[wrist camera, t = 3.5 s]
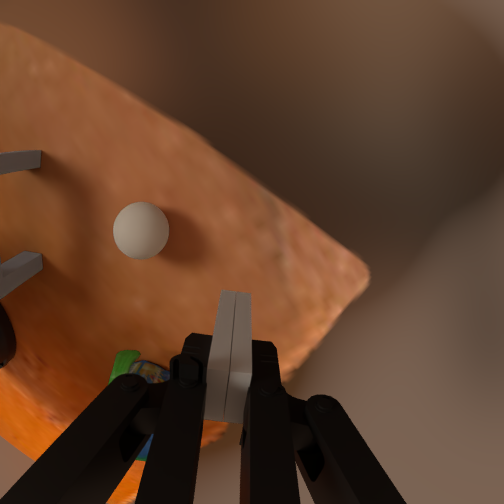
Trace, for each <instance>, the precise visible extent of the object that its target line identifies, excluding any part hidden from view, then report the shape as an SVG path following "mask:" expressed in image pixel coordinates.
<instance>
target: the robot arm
mask: <svg viewBox="0 0 504 504" xmlns="http://www.w3.org/2000/svg"><path fill="white" fill-rule="evenodd" d="M235 297H236V300H235ZM15 351H16V341H15V335H14V331H13V328H12V326H11V323H10V321H9V318H8V316H7V314H6V312H5V311H4V309H3V307H2V306H1V304H0V368H3V367H4V366H5V365H7V363H8V362H9V361H10V360H11V359H12V358H13V357H14V354H15ZM224 406H225V407H224ZM223 414H224V419H223ZM204 419H205V420H213V421H221V422H230V423H240V424H243V430H242V434H241V439H240V445H241V472H240V473H241V474H240V504H300V497H299V488H298V479H297V471H296V464H297V466H298V468H299V470H300V472H301V475H302V477H303V479H304V481H305V483H306V486H307V488H308V490H309V492H310V494H311V497H312V499H313V501H314V503H315V504H406V502H405V501H404V499H403V498H402V496H401V495H400V493H399V492H398V490H397V489H396V487H395V486H394V484H393V483H392V481H391V480H390V479H389V477H388V475H387V474H386V472H385V471H384V469H383V468H382V466H381V465H380V463H379V462H378V460H377V459H376V457H375V456H374V454H373V453H372V451H371V450H370V448H369V447H368V446H367V444H366V442H365V441H364V439H363V438H362V436H361V435H360V433H359V432H358V430H357V429H356V427H355V426H354V424H353V423H352V421H351V419H350V418H349V417H348V415H347V413H346V412H345V410H344V409H343V407H342V406H341V405H340V403H339V402H338V401H337V400H336V399H334V398H332V397H331V396H327V395H314V396H311V397H310V398H309V399H308V400H307V401H305V400H301V399H297V398H295V397H292V396H291V395H289V394H288V393H286V391H285V388H284V387H283V386H282V385H281V378H280V370H279V363H278V355H277V348H276V347H275V346H274V344H273V343H272V342H270V341H260V340H252V333H251V293H243V292H235V291H228V290H221V295H220V301H219V306H218V311H217V317H216V322H215V327H214V333H213V336H212V335H204V334H197V333H191V334H190V335H189V336H188V337H187V338H186V339H185V342H184V345H183V348H182V352H181V354H179V355H176V356H174V357H173V358H172V359H171V360H170V379H169V380H167V381H164V382H160V383H147V381H146V380H145V378H144V377H142V376H140V375H138V374H133V373H125V374H121V375H119V376H117V377H116V378H114V379H113V380H112V382H111V383H110V384H109V385H108V386H107V387H106V388H105V389H104V390H103V391H102V392H101V393H100V394H99V395H98V396H97V397H96V398H95V399H94V400H93V401H92V402H91V403H90V405H89V406H88V407H87V408H86V409H85V410H84V411H83V412H82V413H81V414H80V415H79V416H78V417H77V418H76V419H75V420H74V421H73V422H72V423H71V424H70V426H69V427H68V428H67V429H66V430H65V431H64V432H63V433H62V434H61V435H60V436H59V437H58V438H57V439H56V440H55V441H54V442H53V444H52V445H51V446H50V447H49V448H48V449H47V450H46V451H45V452H44V453H43V454H42V455H41V456H40V457H39V458H38V459H37V461H36V462H35V463H34V464H33V465H32V466H31V467H30V468H29V469H28V470H27V471H26V472H25V473H24V475H23V476H22V477H21V478H20V479H19V480H18V481H17V482H16V483H15V484H14V485H13V486H12V487H11V489H10V490H9V491H8V492H7V493H6V494H5V495H4V496H3V497H2V498H1V499H0V504H105V503H106V502H107V501H108V499H109V498H110V496H111V495H112V493H113V492H114V490H115V489H116V487H117V486H118V484H119V483H120V482H121V480H122V479H123V477H124V476H125V474H126V473H127V471H128V470H129V468H130V467H131V465H132V464H133V462H134V461H135V459H136V458H137V456H138V455H139V454H140V452H141V451H142V449H143V448H144V446H145V445H146V443H147V442H148V440H149V439H150V437H151V435H152V434H153V437H152V441H151V444H150V448H149V452H148V455H147V459H146V463H145V466H144V470H143V474H142V477H141V481H140V485H139V489H138V493H137V497H136V500H135V504H193V500H194V492H195V484H196V476H197V469H198V461H199V453H200V446H201V439H202V431H203V420H204ZM295 461H296V463H295Z"/></svg>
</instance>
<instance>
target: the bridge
mask: <svg viewBox="0 0 504 504" xmlns="http://www.w3.org/2000/svg"><path fill="white" fill-rule="evenodd" d="M40 163H41V150H28V151H14V152H4V153H0V175H1V174H6V173H11V172H16V171H22V170H28V169H34V168H40ZM42 269H43V265H42V254H40V253H34V252H29V251H23V252H21V253H20V254H18V255H16V256H14V257H13V258H11V259H9V260H7V261H6V262H4V263H2V264H1V259H0V299H2V298H3V297H4V296H6V295H7V294H8V293H10V292H11V291H13V290H14V289H15V288H17V287H18V286H19V285H21V284H22V283H24V282H25V281H26V280H28V279H29V278H31V277H32V276H34V275H35V274H36V273H38V272H39V271H41V270H42Z"/></svg>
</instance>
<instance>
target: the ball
mask: <svg viewBox="0 0 504 504" xmlns="http://www.w3.org/2000/svg"><path fill="white" fill-rule="evenodd" d="M113 235H114V239H115V242H116V244H117V246H118V248H119V249H120V250H121V251H122V252H123V253H124V254H125V255H127V256H129V257H131V258H134V259H148V258H151V257H153V256H155V255H157V254H158V253H159V252H160V251H161V250H162V249H163V248H164V246H165V245H166V243H167V240H168V237H169V224H168V220H167V218H166V216H165V214H164V213H163V212H162V211H161V210H160V209H159V208H158V207H157V206H155V205H153V204H151V203H147V202H136V203H132V204H130V205H128V206H126V207H125V208H124V209H122V210H121V212H120V213H119V214H118V216H117V217H116V220H115V222H114V227H113Z"/></svg>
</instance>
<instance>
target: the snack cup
mask: <svg viewBox="0 0 504 504" xmlns="http://www.w3.org/2000/svg"><path fill="white" fill-rule="evenodd" d="M139 355H140V352H139V351H136V350H124V351H120V352H118V353H117V355H116V358H115V363H114V366H113V370H112V373H111V376H110V379H109V384H110V383H111V382H112V380H113V379H114V378H116V377H117V376H119V375H121V374H125V373H133V374H138V375H140V376H142V377H144V378H145V380H146V381H147V383H160V382H164V381H167V380H169V379H170V372H169V371H166V370H164V369H163V368H161V367H160V366H158V365H156V364H153V363H150V362H147V361H139V362H134V361H135V360H136V359H137V358H138V357H139ZM109 384H108V385H109ZM152 437H153V434H152V435H151V437H150V439H149V440H148V442H147V443H146V445H145V446H144V448H143V449H142V451H141V452H140V454H139V455H138V456H137V458H136V459H135V460H140V461H146V459H147V455H148V452H149V448H150V444H151V441H152Z"/></svg>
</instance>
